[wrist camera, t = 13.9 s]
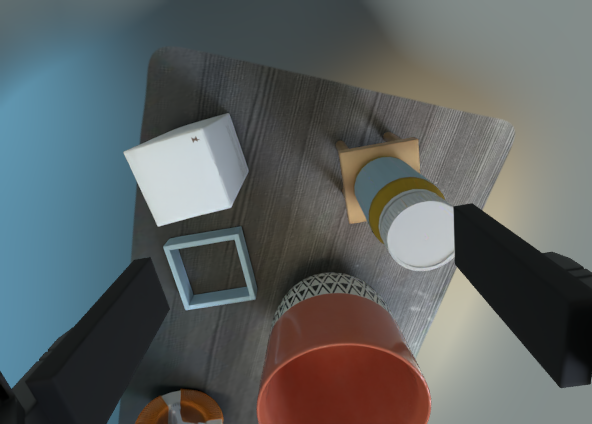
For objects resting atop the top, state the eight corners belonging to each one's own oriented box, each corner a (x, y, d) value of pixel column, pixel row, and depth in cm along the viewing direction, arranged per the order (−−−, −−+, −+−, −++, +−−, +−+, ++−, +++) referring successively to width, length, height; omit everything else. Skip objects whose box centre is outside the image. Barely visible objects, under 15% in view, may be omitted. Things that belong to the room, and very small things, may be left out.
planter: (261, 255, 56) (241, 354, 36) (382, 241, 55) (431, 333, 35) (279, 351, 63) (271, 478, 43) (388, 339, 62) (431, 463, 42)
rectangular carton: (169, 129, 49) (118, 149, 35) (229, 111, 48) (202, 124, 34) (193, 189, 52) (155, 229, 38) (250, 173, 52) (233, 208, 37)
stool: (331, 139, 50) (339, 153, 40) (395, 127, 49) (418, 139, 40) (340, 198, 53) (349, 224, 43) (400, 188, 52) (422, 212, 43)
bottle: (412, 207, 43) (468, 271, 29) (354, 214, 43) (383, 280, 29) (411, 151, 40) (473, 190, 26) (350, 158, 41) (379, 201, 27)
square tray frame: (169, 238, 55) (162, 246, 52) (241, 225, 54) (238, 233, 52) (190, 299, 59) (185, 310, 56) (257, 289, 59) (255, 299, 56)
